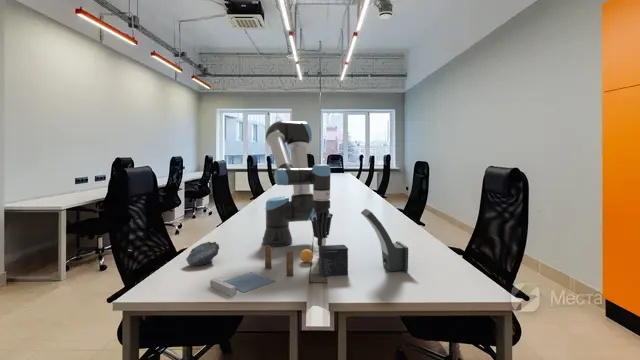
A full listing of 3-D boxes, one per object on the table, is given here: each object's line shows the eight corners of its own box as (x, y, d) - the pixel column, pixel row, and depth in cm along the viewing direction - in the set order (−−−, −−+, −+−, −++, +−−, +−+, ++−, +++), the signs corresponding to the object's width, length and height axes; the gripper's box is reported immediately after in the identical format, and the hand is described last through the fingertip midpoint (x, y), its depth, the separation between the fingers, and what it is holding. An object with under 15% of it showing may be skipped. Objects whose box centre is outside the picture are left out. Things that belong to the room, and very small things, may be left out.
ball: (297, 262, 154) (297, 249, 154) (306, 259, 158) (306, 246, 158) (307, 265, 150) (307, 252, 150) (315, 261, 155) (315, 249, 154)
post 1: (263, 268, 146) (263, 246, 146) (268, 266, 148) (268, 244, 148) (267, 269, 145) (267, 247, 144) (272, 267, 147) (272, 246, 146)
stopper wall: (210, 286, 127) (210, 279, 126) (215, 284, 128) (215, 278, 128) (230, 295, 119) (230, 288, 118) (235, 294, 120) (235, 286, 120)
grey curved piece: (358, 266, 150) (359, 207, 148) (398, 263, 152) (399, 206, 150) (366, 275, 139) (367, 212, 137) (408, 272, 142) (410, 211, 140)
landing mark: (220, 282, 131) (220, 281, 131) (251, 272, 141) (251, 272, 141) (243, 292, 121) (243, 292, 121) (275, 281, 132) (275, 280, 132)
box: (344, 269, 145) (344, 244, 144) (348, 275, 139) (348, 248, 138) (318, 271, 143) (318, 245, 142) (321, 276, 137) (321, 249, 136)
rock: (226, 259, 158) (210, 251, 163) (223, 244, 154) (207, 236, 159) (197, 281, 146) (181, 271, 151) (193, 265, 143) (177, 256, 148)
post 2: (285, 275, 138) (284, 252, 137) (289, 273, 140) (289, 250, 139) (289, 276, 136) (289, 253, 136) (294, 275, 138) (294, 252, 138)
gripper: (318, 201, 152) (318, 257, 154) (337, 198, 162) (337, 250, 163) (305, 200, 157) (305, 253, 159) (324, 197, 167) (324, 247, 168)
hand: (321, 252), depth 161 cm, fingers closed
